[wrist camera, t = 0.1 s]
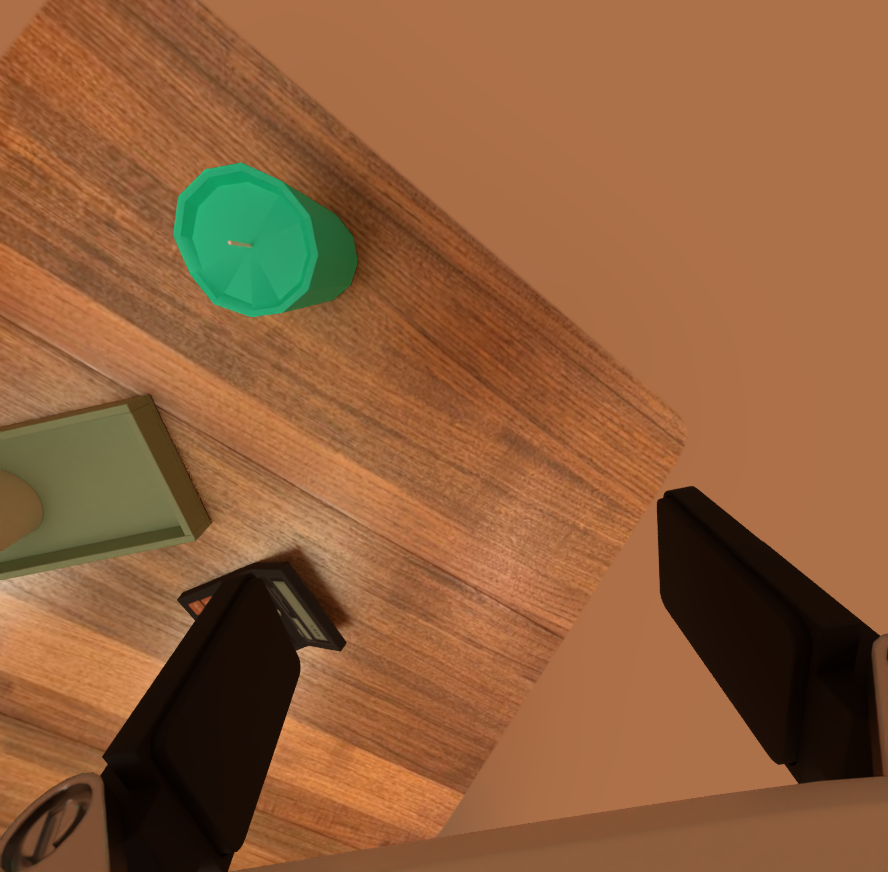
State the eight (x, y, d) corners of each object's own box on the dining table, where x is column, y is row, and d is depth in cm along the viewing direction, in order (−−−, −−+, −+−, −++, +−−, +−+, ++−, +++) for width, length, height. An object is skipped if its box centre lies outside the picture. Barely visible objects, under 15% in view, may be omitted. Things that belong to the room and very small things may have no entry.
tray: (-164, 463, 32) (-210, 478, 30) (149, 393, 31) (126, 403, 28) (-69, 580, 36) (-104, 601, 34) (211, 523, 35) (195, 541, 32)
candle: (264, 197, 26) (139, 140, 15) (360, 211, 27) (308, 166, 16) (266, 297, 29) (158, 311, 17) (355, 308, 29) (306, 330, 18)
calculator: (182, 592, 37) (162, 618, 34) (297, 545, 36) (285, 568, 33) (243, 664, 40) (229, 693, 37) (351, 622, 39) (345, 649, 36)
